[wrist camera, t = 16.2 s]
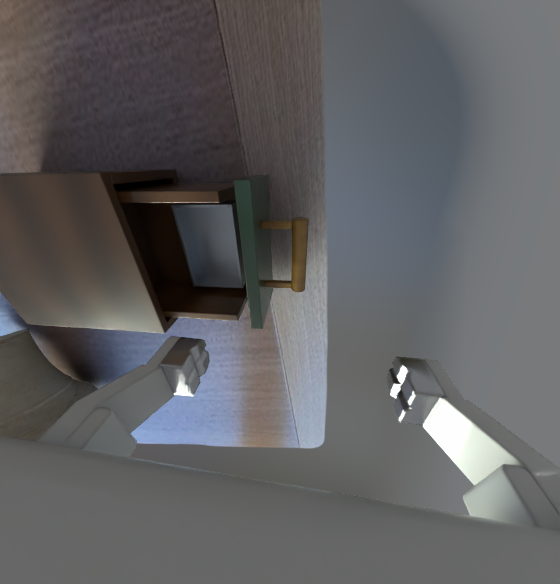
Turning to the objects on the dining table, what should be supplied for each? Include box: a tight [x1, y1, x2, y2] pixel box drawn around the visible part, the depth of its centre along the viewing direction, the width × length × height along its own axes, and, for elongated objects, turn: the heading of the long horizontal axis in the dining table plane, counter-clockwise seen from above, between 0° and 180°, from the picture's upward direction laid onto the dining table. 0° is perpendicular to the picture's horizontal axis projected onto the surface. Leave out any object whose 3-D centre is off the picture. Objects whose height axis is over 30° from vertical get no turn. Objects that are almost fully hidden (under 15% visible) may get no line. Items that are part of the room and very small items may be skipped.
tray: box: [171, 201, 246, 288], centre depth 23 cm, size 6×9×2 cm, turn 1°
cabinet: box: [0, 170, 178, 333], centre depth 23 cm, size 17×15×10 cm
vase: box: [0, 329, 98, 441], centre depth 36 cm, size 22×22×28 cm
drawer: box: [114, 175, 308, 329], centre depth 21 cm, size 20×13×8 cm
